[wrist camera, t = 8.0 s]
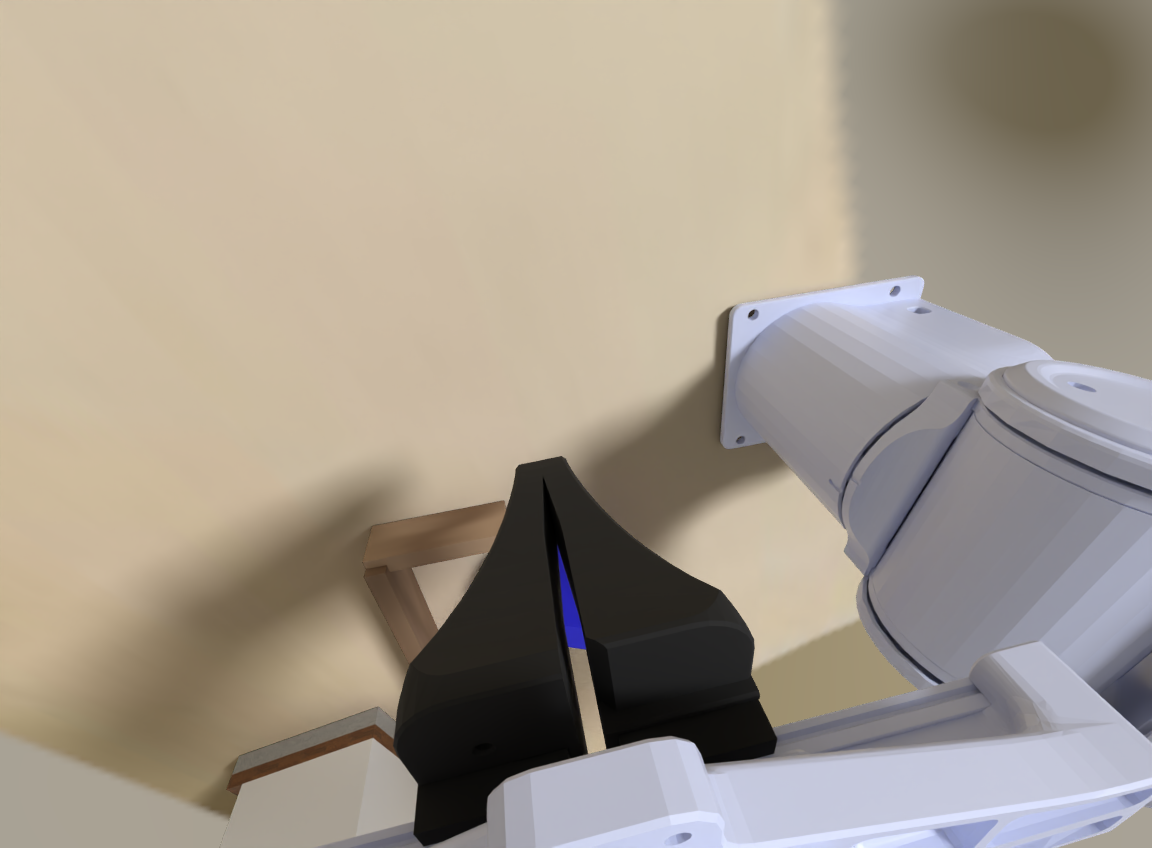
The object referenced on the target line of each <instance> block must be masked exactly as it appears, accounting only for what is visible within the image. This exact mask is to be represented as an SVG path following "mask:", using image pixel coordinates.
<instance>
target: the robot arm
mask: <svg viewBox="0 0 1152 848" xmlns="http://www.w3.org/2000/svg"><path fill="white" fill-rule="evenodd" d="M893 287H894V290H893V291H892V292H891V293H890V291H891V289H892V288H893ZM923 287H924V281H923V279H922V278H921V277H918V276H914V275H911V276H905V277H899V278H893V279H887V280H881V281H875V282H869V283H863V284H857V285H851V286H845V287H839V288H833V289H826V290H820V291H814V292H808V293H802V294H796V295H790V296H784V297H778V298H772V299H766V300H760V301H754V302H748V303H741V304H738V305H736V306H735V307H733V308H732V310H731V311H730V315H729V326H728V339H727V353H726V367H725V381H724V395H723V408H722V422H721V436H720V442H721V444H722V445H723V447H724V448H726V449H733V448H739V447H744V446H749V445H754V444H760V443H765V442H767V443H768V444H769V446H770V447H771V448H772V449H773V450H774V451H775V452H776V453H777V454H778V455H779V457H780V458H781V459H782V460H783V461H784V462H785V463H786V464H787V465H788V467H789V468H790V469H791V470H792V471H793V472H794V473H795V474H796V475H797V476H798V478H799V479H800V480H801V481H802V482H803V483H804V484H805V485H806V486H807V487H808V489H809V490H810V491H811V492H812V493H813V494H814V495H815V496H816V497H817V499H818V500H819V501H820V502H821V503H822V504H823V505H824V506H825V507H826V508H827V510H828V511H829V512H830V513H831V514H832V515H833V516H834V517H835V518H836V520H837V521H838V522H839V523H840V524H841V525H842V526H843V527H844V528H845V529H846V530H847V533H848V542H847V545H846V547H845V549H844V553H845V554H846V555H847V556H848V557H849V558H850V560H851V561H852V562H853V563H854V564H855V565H856V567H857V568H858V569H859V570H860V571H861V572H862V574H863V575H864V577H863V578H862V580H861V582H860V584H859V585H858V589H857V594H856V602H857V609H858V613H859V616H860V619H861V621H862V623H863V626H864V628H865V630H866V632H867V633H868V635H869V636H870V638H871V639H872V641H873V642H874V644H875V646H876V647H877V648H878V649H879V651H880V652H881V653H882V654H883V656H884V657H885V658H886V659H887V660H888V662H889V663H890V664H891V665H892V666H893V667H894V668H896V670H897V671H898V672H899V673H900V674H901V675H902V676H903V677H904V678H906V679H907V680H908V681H909V682H910V683H911V684H913V685H914V686H915V687H916V688H917V689H918V690H916V691H913V692H908V693H904V694H901V695H897V696H893V697H889V698H885V699H881V700H878V701H874V702H870V703H866V704H862V705H859V706H855V707H851V708H847V709H843V710H840V711H835V712H832V713H828V714H824V715H820V716H816V717H812V718H809V719H805V720H801V721H797V722H794V723H789V724H786V725H782V726H778V727H774V728H772V727H771V724H770V722H769V720H768V718H767V716H766V714H765V712H764V710H763V708H762V706H761V704H760V702H759V700H758V699H759V698H760V694H759V690H758V688H757V686H756V684H755V682H754V680H753V678H752V676H751V670H752V663H753V656H754V649H755V647H754V638H753V636H752V635H751V632H750V630H749V628H748V627H747V625H746V623H745V622H744V620H743V619H742V617H741V616H740V614H739V613H738V612H737V610H736V609H735V607H734V606H733V605H732V603H731V602H730V601H729V600H728V598H727V597H726V596H725V595H724V594H723V592H722V591H721V590H719V589H717V588H715V587H713V586H711V585H709V584H707V583H705V582H703V581H700V580H698V579H696V578H694V577H692V576H690V575H689V574H687V573H685V572H684V571H682V570H680V569H678V568H677V567H675V566H673V565H672V564H670V563H669V562H667V561H666V560H664V559H663V558H661V557H660V556H658V555H657V554H655V553H654V552H652V551H651V550H649V549H648V548H647V547H645V546H644V545H643V544H641V543H640V542H639V541H637V540H636V539H635V538H634V537H632V536H631V535H630V534H629V533H628V532H626V531H625V530H624V529H623V528H622V527H621V526H620V525H619V524H617V523H616V522H615V521H614V520H613V519H612V518H611V517H610V516H609V515H608V514H607V513H606V512H605V511H604V510H603V509H602V508H601V507H600V505H599V504H598V503H597V502H596V501H595V500H594V499H593V498H592V496H591V495H590V494H589V493H588V492H587V490H586V489H585V488H584V487H583V485H582V484H581V483H580V481H579V480H578V479H577V477H576V476H575V474H574V473H573V471H572V470H571V468H570V466H569V464H568V463H567V460H566V459H565V458H564V457H562V456H560V457H555V458H550V459H545V460H541V461H536V462H531V463H526V464H521V465H519V466H518V467H517V468H516V472H515V479H514V484H513V489H512V492H511V496H510V500H509V503H508V506H507V509H506V512H505V515H504V518H503V521H502V523H501V526H500V528H499V530H498V533H497V535H496V538H495V540H494V542H493V545H492V547H491V549H490V551H489V553H488V555H487V557H486V559H485V561H484V563H483V565H482V567H481V568H480V570H479V572H478V574H477V575H476V577H475V579H474V580H473V582H472V584H471V585H470V587H469V589H468V590H467V592H466V593H465V595H464V596H463V598H462V599H461V601H460V602H459V604H458V605H457V606H456V608H455V609H454V610H453V612H452V613H451V615H450V616H449V617H448V619H447V620H446V621H445V623H444V624H443V626H442V627H441V628H440V629H439V631H438V632H437V633H436V634H435V635H434V637H433V638H432V639H431V640H430V641H429V642H428V644H427V645H426V646H425V647H424V648H423V649H422V651H421V652H420V653H419V654H418V655H417V656H416V657H415V659H414V660H413V661H412V662H411V663H410V665H409V668H408V671H407V674H406V677H405V681H404V684H403V688H402V692H401V695H400V699H399V704H398V709H397V718H396V726H395V734H394V742H393V747H394V749H395V752H396V754H397V756H398V757H399V759H400V760H401V762H402V763H403V764H404V766H405V767H406V768H407V770H408V771H409V773H410V774H411V775H412V777H413V778H414V780H415V781H416V782H417V784H418V788H417V799H416V810H415V821H413V822H410V823H406V824H402V825H398V826H394V827H390V828H387V829H383V830H379V831H375V832H371V833H367V834H364V835H360V836H356V837H352V838H348V839H344V840H341V841H337V842H333V843H329V844H325V845H321V846H318V847H314V848H1058V847H1060V846H1063V845H1067V844H1070V843H1073V842H1076V841H1080V840H1083V839H1086V838H1090V837H1093V836H1096V835H1099V834H1102V833H1106V832H1109V831H1111V830H1113V829H1114V828H1115V827H1117V826H1118V825H1119V824H1121V823H1122V822H1123V821H1125V820H1126V819H1127V818H1129V817H1130V816H1131V815H1133V814H1134V813H1135V812H1137V811H1138V810H1139V809H1141V808H1142V807H1148V808H1152V380H1148V379H1144V378H1141V377H1137V376H1133V375H1129V374H1126V373H1122V372H1117V371H1113V370H1109V369H1104V368H1100V367H1095V366H1090V365H1085V364H1079V363H1073V362H1065V361H1056V360H1053V359H1052V358H1051V357H1050V356H1049V355H1048V354H1047V353H1046V352H1045V351H1043V350H1042V349H1041V348H1039V347H1038V346H1036V345H1034V344H1033V343H1031V342H1029V341H1026V340H1024V339H1022V338H1019V337H1017V336H1014V335H1011V334H1009V333H1006V332H1004V331H1001V330H999V329H996V328H994V327H991V326H989V325H986V324H983V323H981V322H978V321H976V320H973V319H971V318H968V317H966V316H963V315H961V314H958V313H955V312H953V311H950V310H948V309H945V308H942V307H940V306H938V305H935V304H933V303H930V302H927V301H925V300H922V299H920V297H921V294H922V290H923ZM754 309H755V312H754V314H753V316H752V317H749V318H748V314H749V312H750V311H751V310H754ZM740 436H742V437H741V438H740V439H739V440H737V438H738V437H740ZM557 545H558V547H557ZM558 549H559V552H560V555H561V559H562V562H563V565H564V569H565V572H566V575H567V579H568V582H569V585H570V588H571V592H572V595H573V598H574V602H575V605H576V608H577V611H578V615H579V619H580V623H581V627H582V632H583V637H584V642H585V646H586V651H587V656H588V661H589V666H590V671H591V676H592V681H593V685H594V690H595V695H596V700H597V705H598V710H599V715H600V720H601V724H602V729H603V734H604V739H605V744H606V750H603V751H599V752H595V753H591V754H588V751H587V746H586V741H585V735H584V730H583V724H582V719H581V714H580V708H579V703H578V697H577V692H576V686H575V681H574V675H573V670H572V664H571V659H570V653H569V648H568V642H567V637H566V631H565V624H564V616H563V605H562V593H561V581H560V570H559V558H558Z"/></svg>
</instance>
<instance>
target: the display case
mask: <svg viewBox="0 0 1152 848" xmlns="http://www.w3.org/2000/svg"><path fill="white" fill-rule="evenodd" d="M395 726H396V722H395V721H394V720H393V719H392V718H391V717H390V716H389V715H387V714H386V713H385V712H384V711H383V710H382V709H380V708H379V707H376V708H373V709H370V710H368V711H365V712H362V713H359V714H356V715H354V716H351V717H348V718H345V719H342V720H339V721H337V722H334V723H331V724H328V725H325V726H323V727H320V728H317V729H314V730H311V731H308V732H306V733H303V734H300V735H297V736H294V737H292V738H289V739H286V740H283V741H280V742H277V743H275V744H272V745H269V746H266V747H263V748H261V749H258V750H255V751H252V752H249V753H246V754H244V755H241V756H239V758H238V760H237V763H236V766H235V768H234V771H233V774H232V776H231V779H230V781H229V784H228V787H227V789H226V790H228V791H230V792H232V793H234V794H236V795H238V797H237V800H236V803H235V806H234V808H233V811H232V814H231V817H230V819H229V822H228V825H227V828H226V831H225V833H224V836H223V839H222V842H221V844H220V847H219V848H314V847H318V846H321V845H325V844H329V843H333V842H337V841H341V840H344V839H348V838H352V837H356V836H360V835H364V834H367V833H371V832H375V831H379V830H383V829H387V828H390V827H394V826H398V825H402V824H406V823H410V822H413V821H415V810H416V799H417V788H418V784H417V782H416V781H415V780H414V778H413V777H412V775H411V774H410V773H409V771H408V770H407V768H406V767H405V766H404V764H403V763H402V762H401V760H400V759H399V757H398V756H397V754H396V752H395V749H394V747H393V742H394V734H395Z"/></svg>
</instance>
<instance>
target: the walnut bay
mask: <svg viewBox="0 0 1152 848" xmlns="http://www.w3.org/2000/svg"><path fill="white" fill-rule="evenodd" d="M505 512H506V506H505V502H504V501H499V502H494V503H489V504H484V505H479V506H474V507H468V508H463V509H458V510H453V511H448V512H443V513H437V514H432V515H427V516H422V517H417V518H411V519H406V520H401V521H396V522H391V523H386V524H380V525H375V526H372V528H371V532H370V536H369V540H368V543H367V547H366V551H365V554H364V558H363V562H362V563H363V565H364V567H365V569H366V571H365V575H364V579H365V581H366V583H367V584H368V586H369V588H370V590H371V592H372V594H373V596H374V598H375V600H376V602H377V604H378V606H379V607H380V609H381V611H382V613H383V615H384V617H385V619H386V621H387V623H388V625H389V627H390V629H391V630H392V632H393V634H394V636H395V638H396V640H397V642H398V644H399V646H400V648H401V650H402V652H403V653H404V655H405V657H406V659H407V661H408V663H409V665H410V663H411V662H412V661H413V660H414V659H415V657H416V656H417V655H418V654H419V653H420V652H421V651H422V649H423V648H424V647H425V646H426V645H427V644H428V642H429V641H430V640H431V639H432V638H433V637H434V635H435V634H436V633H437V632H438V629H437V627H436V624H435V622H434V620H433V617H432V615H431V613H430V610H429V608H428V606H427V603H426V601H425V599H424V597H423V594H422V592H421V590H420V587H419V585H418V583H417V580H416V578H415V576H414V573H413V571H412V569H411V568H412V567H417V566H422V565H427V564H432V563H437V562H442V561H447V560H452V559H456V558H461V557H466V556H471V555H476V554H481V553H486V552H489V551H490V549H491V547H492V545H493V542H494V540H495V538H496V535H497V533H498V530H499V528H500V526H501V523H502V521H503V518H504V515H505Z"/></svg>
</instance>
